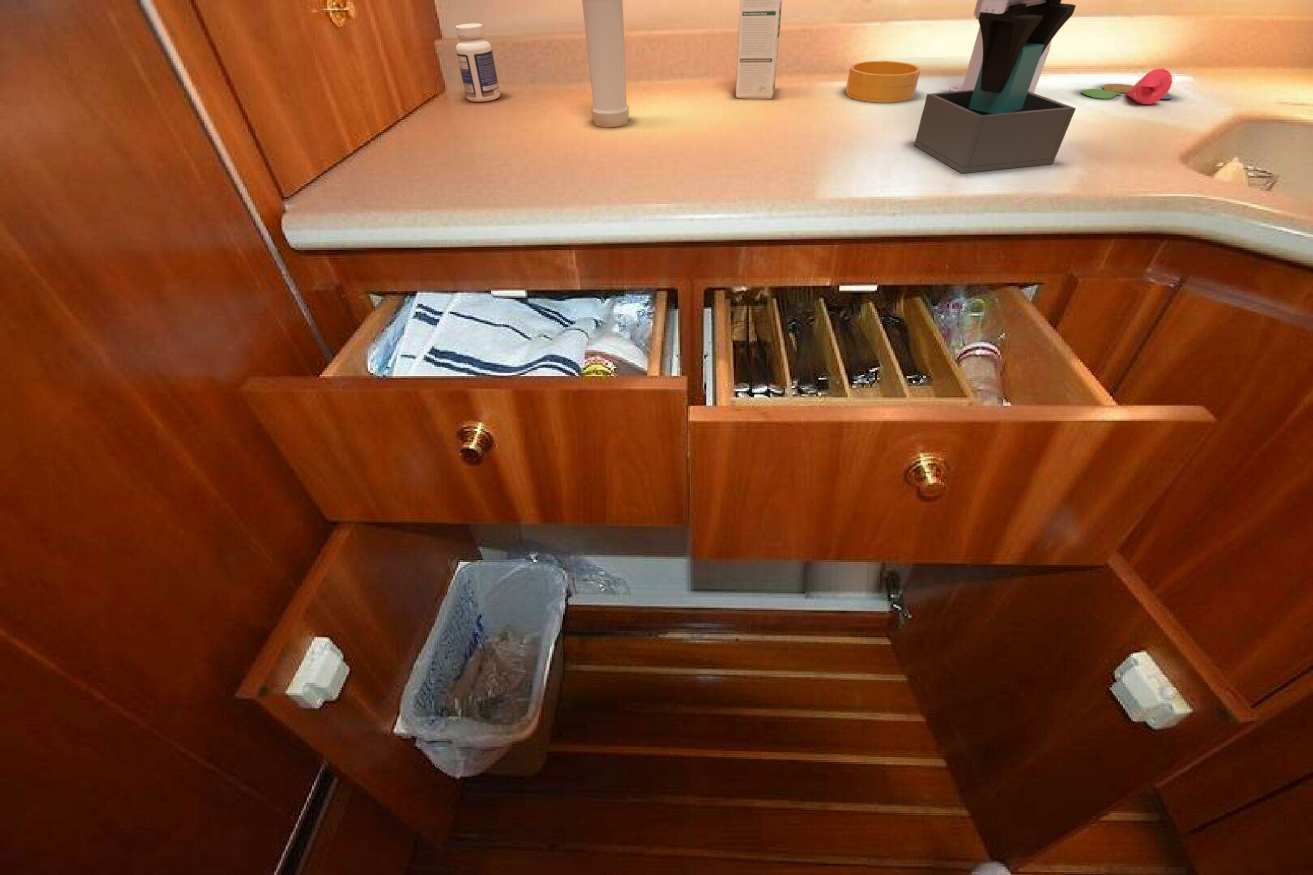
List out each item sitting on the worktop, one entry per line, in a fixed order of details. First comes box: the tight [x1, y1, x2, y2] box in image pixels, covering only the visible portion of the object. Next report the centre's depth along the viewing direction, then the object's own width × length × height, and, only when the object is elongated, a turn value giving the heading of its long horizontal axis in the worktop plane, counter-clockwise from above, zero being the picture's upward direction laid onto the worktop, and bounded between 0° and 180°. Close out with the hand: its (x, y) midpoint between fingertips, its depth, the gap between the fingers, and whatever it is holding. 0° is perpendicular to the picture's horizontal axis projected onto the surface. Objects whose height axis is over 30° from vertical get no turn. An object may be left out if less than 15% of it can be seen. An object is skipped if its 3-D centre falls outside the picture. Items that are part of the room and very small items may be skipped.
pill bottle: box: [455, 22, 501, 103], centre depth 91 cm, size 5×5×10 cm
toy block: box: [968, 43, 1044, 114], centre depth 63 cm, size 4×4×6 cm
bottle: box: [581, 0, 630, 128], centre depth 74 cm, size 5×5×25 cm
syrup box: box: [735, 0, 783, 100], centre depth 87 cm, size 6×6×14 cm
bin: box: [913, 90, 1077, 174], centre depth 66 cm, size 11×10×6 cm
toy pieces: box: [1080, 67, 1173, 105], centre depth 84 cm, size 12×11×4 cm
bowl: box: [845, 60, 922, 104], centre depth 88 cm, size 10×10×4 cm
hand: (1002, 87), depth 64 cm, fingers closed on toy block, 4 cm apart
